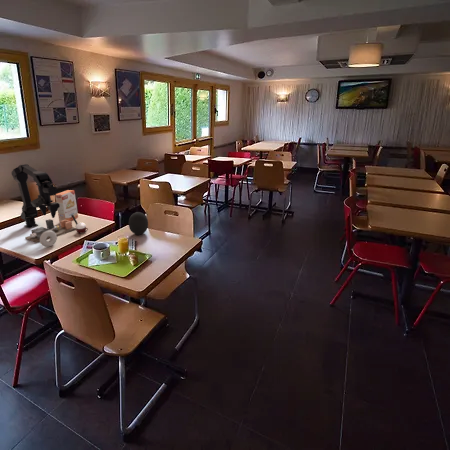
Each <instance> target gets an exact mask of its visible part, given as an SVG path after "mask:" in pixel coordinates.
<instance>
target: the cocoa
mask: <svg viewBox="0 0 450 450" xmlns="http://www.w3.org/2000/svg"><path fill="white" fill-rule="evenodd" d="M71 216H72V217H73V221H74V223H75V227H74V228H76V230H75V231H76V232H77V234H84V233H86V232H87V231H88V230H89V229H88V227H87V226H86V223H84V222H83V221H82V222H81V221H80V222H78V221H77V220H76V219H77V218H75V217H74V215H73V214H72V215H71Z"/></svg>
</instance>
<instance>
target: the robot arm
mask: <svg viewBox="0 0 450 450" xmlns="http://www.w3.org/2000/svg"><path fill="white" fill-rule="evenodd" d="M11 176H12V178H13V180H15V182H17V185H18V188H19V193H20V196H21V200H22V207H21V213H20V219H22V220H24V222H25V225H24V227H25V228H28V229H31V228H34V227H38V226H39V224H37V223H36V219H35V218H38V213H39V212H38V209H37V208H39V210H40V211H41V213H42V216H47V215H46V214H47V210H48V211H50V212H49V213H50V216H51V218H52V219H55V217H56V214H57V213H58V210H57V209H58V208H59V207H60V204H59V203H56V201H54V200H52V199H51V198H52V196H53V197H55V195H56V194H58V193H59V192H58V188H57V187H56V186H54V184H53V180H52V179H51V177H50V175H49V174H48V173H47V172H46V171H42V170H41V171H40V170H37V169H35V168H34V167H32V166H30V165H29V164H27V163H25V164H23V163H22V164H20V165H18V166H16V167H15V168H13V169H12V171H11ZM29 176H30V177H32V179H33V181H34V182H35V186H37V189H38V190H37V191H38V195H37V197H36V198H35V199H33V200H32V198H31V194H30V190H29V187H28V183H27V182H28V179H29ZM53 201H54V202H53Z"/></svg>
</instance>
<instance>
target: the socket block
mask: <svg viewBox="0 0 450 450" xmlns="http://www.w3.org/2000/svg"><path fill="white" fill-rule="evenodd" d="M59 223H60V226H61V228H63V227H66V229H70V228H72V227H73V223H72V220H71V221H68V220H62V221H60V222H59Z"/></svg>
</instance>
